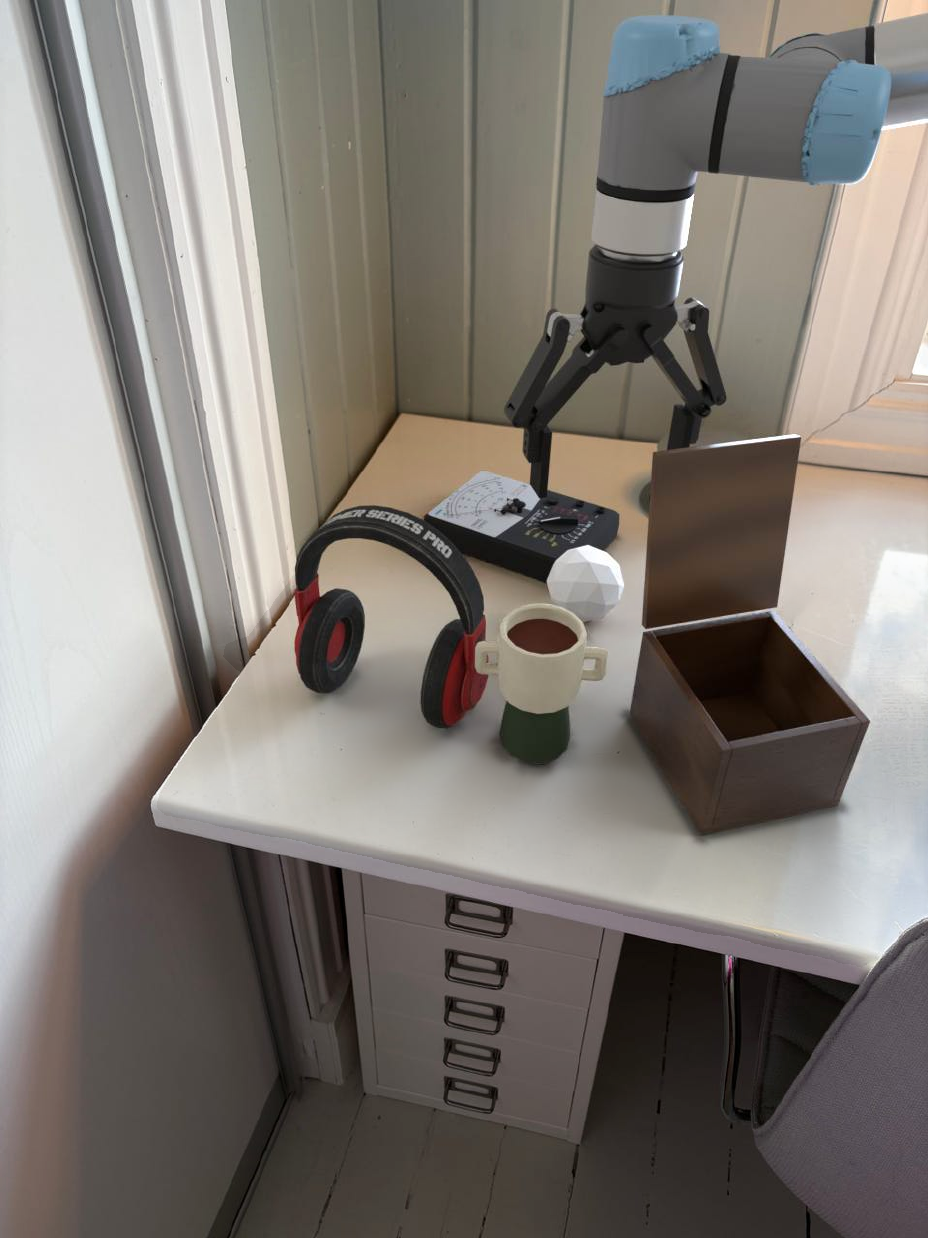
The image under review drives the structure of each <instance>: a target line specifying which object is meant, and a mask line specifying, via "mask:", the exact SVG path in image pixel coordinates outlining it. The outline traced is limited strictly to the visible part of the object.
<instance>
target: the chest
mask: <svg viewBox="0 0 928 1238" xmlns="http://www.w3.org/2000/svg"><path fill="white" fill-rule="evenodd" d="M633 684H634V685H633V690H632V696H631V697H632V698H631V703H630V709H629V716H630V718H631V719H632V721H633V723H634V725H635V726H636V728H637V729H638V731H639V733H640V735H641V736H642V738H643V740H644V742H645V743H646V745H647V746H648V748H649V750H650V752H651V753H652V755H653V757H654V758H655V760H656V762H657V763H658V766H659V767H660V769H661V771H662V772H663V774H664V776H665V778H666V779H667V781H668V782H669V784H670V786H671V788H672V789H673V791H674V793H675V795H676V796H677V798H678V800H679V801H680V803H681V805H682V806H683V808H684V810H685V811H686V813H687V815H688V817H689V819H690V820H691V821H692V823H693V825H694V827H695V829H696V831H697V832H698V834H699V836H707V835H711V834H715V833H716V834H717V833H720V832H724V831H730V830H733V829H738V828H742V827H743V828H744V827H747V826H748V827H749V826H753V825H757V824H760V823H761V824H762V823H766V822H770V821H775V820H779V819H784V818H788V817H792V816H796V815H802V814H807V813H811V812H815V811H820V810H825V809H829V808H835V807H838V806H839V804H840V802H841V798H842V796H843V793H844V791H845V788H846V786H847V784H848V780H849V779H850V775H851V773H852V770H853V768H854V765H855V763H856V760H857V757H858V755H859V752H860V749H861V747H862V745H863V742H864V739H865V737H866V734H867V732H868V729H869V726H870V724H871V720H870V719H869V718H868V717H867V715H866V714H865V713H864V712H863V711H862V710H861V708H860V707H859V706H858V704H856V703H855V702H854V701H853V699H852V698H851V697H850V696H849V695H848V693H847V692H846V691H845V690H844V688H842V687H841V685H839V683H838V682H837V681H836V680H835V679H834V678H833V676H832V675H831V674H830V673H829V672H828V671H827V669H826V668H825V667H824V666H823V665H822V664H821V663H820V661H819V660H818V659H817V658H816V657H815V656H814V655H813V653H812V652H811V651H810V650H809V648H808V647H807V646H806V645H805V644H804V643H803V641H801V639H800V638H799V637H798V636H797V635H796V634H795V632H794V631H792V629H791V628H790V627H789V626H788V625H787V624H786V623H785V622H784V620H783V619H782V618H781V617H780V616H779V615H778V613H777V612H776V611H775V610H767V611H761V612H753V613H748V614H747V613H746V614H742V615H736V616H730V617H723V618H719V619H713V620H705V621H701V622H700V621H699V622H694V623H688V624H682V625H677V626H676V625H675V626H671V627H664V628H659V629H653V630H646V631H643V632H642V636H641V642H640V648H639V654H638V660H637V667H636V673H635V679H634V683H633Z"/></svg>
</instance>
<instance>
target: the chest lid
mask: <svg viewBox="0 0 928 1238" xmlns="http://www.w3.org/2000/svg"><path fill="white" fill-rule="evenodd" d="M801 443H802V436H800V435H798V434H796V433H795V434H787V435H778V436H771V437H762V438H755V439H753V438H752V439H746V440H738V441H730V442H729V441H728V442H721V443H714V444H706V445H697V446H689V447H688V448H680V449H672V450H667V449H666V450H657V451H653V452H652V459H651V473H650V475H651V476H650V490H649V491H650V492H649V504H648V505H649V506H648V520H647V537H646V555H645V565H644V583H643V584H644V585H643V599H642V612H641V613H642V616H641V626H642V627H643V628H644V629H645V630H648V629H655V628H662V627H667V626H673V625H679V624H685V623H692V622H697V621H703V620H709V619H715V618H721V617H727V616H734V615H739V614H745V613H746V614H747V613H751V612H757V611H763V610H769V609H776V608H778V604H779V597H780V591H781V583H782V576H783V569H784V562H785V555H786V550H787V549H786V547H787V542H788V541H787V540H788V534H789V528H790V519H791V512H792V506H793V498H794V493H795V492H794V491H795V484H796V477H797V471H798V464H799V457H800V449H801Z"/></svg>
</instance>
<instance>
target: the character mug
mask: <svg viewBox="0 0 928 1238" xmlns="http://www.w3.org/2000/svg"><path fill="white" fill-rule="evenodd" d="M586 644H587V629H586V626H585V624H584V622H582V621H581V620H580V619H579V618H578V617H577V616H576V615H575V614H574V613H573V612H571V611H569V610H567V609H565V608H563V607H560V606H556V605H554V604H553V603H552V604H551V603H546V602H545V603H544V602H540V603H539V602H538V603H537V602H535V603H530V604H524V605H522V606H519V607H517V608H514V609H512V610H511V611H510V612H508V613H507V614H506V615H505V616H504V617H503V619H502V621H501V623H500V626H499V628H498V641H493V640H492V641H491V640H489V641H488V640H485V641H482V642H478V643H477V645H476V647H475V668H476V671H477V672H478V673H480V674H486V675H488V676H496V677H497V683H498V689H499V691H500V693H501V695H502V696H503V698H504V699H505V700H506V701H505V704H504V709H503V713H502V717H501V722H500V726H499V732H498V734H499V739H500V743H501V746H502V747H503V749H504V750H506V752H507V753H508V754H509V755H510V756H511V757H513V758H514V759H517V760H519V761H521V762H522V763H525V764H539V765H543V764H546V763H549V762H553V761H554V760H558V759H559V757H560V756H561V755H562V754H563V753H565V752H566V751H567V750H568V748H569V744H570V741H571V720H570V708H569V706H570V704H572V702H573V701H574V700H575V699H576V698H577V696H578V694H579V692H580V690H581V689H580V688H581V685H582V684H581V683H582V681H590V682H599V681H602V680H603V679H604V677H605V676H606V673H607V664H608V658H609V654H608V651H607V649H606V648H602V647H595V646H587V645H586ZM487 654H494V655H495V654H497V663H495V662H489V663H486V662H487ZM585 660H594V667H593V668H584V664H585V663H584V662H585Z"/></svg>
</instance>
